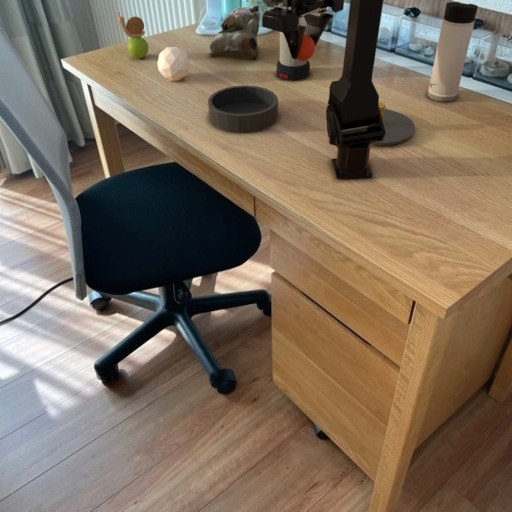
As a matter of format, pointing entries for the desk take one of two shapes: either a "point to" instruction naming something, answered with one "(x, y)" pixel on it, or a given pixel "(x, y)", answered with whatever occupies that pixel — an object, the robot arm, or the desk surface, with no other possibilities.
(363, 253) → the desk surface
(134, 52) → the snail figurine
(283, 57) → the humidifier
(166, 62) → the geometric ball
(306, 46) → the ball
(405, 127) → the flat gray disc
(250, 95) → the black round open container
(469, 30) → the travel mug
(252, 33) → the lucky cat figurine
